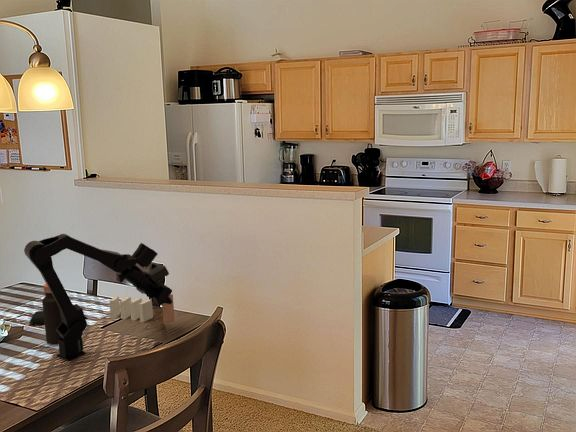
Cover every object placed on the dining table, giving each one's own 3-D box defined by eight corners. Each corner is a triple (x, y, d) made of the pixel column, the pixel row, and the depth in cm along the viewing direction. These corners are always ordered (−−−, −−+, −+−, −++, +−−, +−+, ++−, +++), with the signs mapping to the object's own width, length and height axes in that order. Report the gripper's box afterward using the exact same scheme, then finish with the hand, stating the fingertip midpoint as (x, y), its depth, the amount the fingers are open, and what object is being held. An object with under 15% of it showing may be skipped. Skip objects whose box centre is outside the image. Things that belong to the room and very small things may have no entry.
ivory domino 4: (152, 317, 211) (151, 300, 210) (143, 322, 207) (142, 304, 206) (149, 317, 212) (148, 299, 211) (140, 321, 208) (138, 303, 207)
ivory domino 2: (132, 314, 215) (130, 296, 214) (125, 319, 210) (123, 301, 209) (128, 314, 216) (126, 296, 214) (121, 319, 211) (119, 301, 209)
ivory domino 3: (142, 315, 214) (141, 298, 212) (134, 320, 209) (133, 302, 208) (139, 315, 214) (138, 297, 213) (131, 320, 210) (129, 302, 208)
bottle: (59, 345, 188) (52, 288, 184) (42, 343, 190) (35, 286, 186) (72, 337, 194) (66, 282, 190) (55, 335, 196) (49, 280, 192)
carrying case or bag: (28, 328, 205) (71, 323, 208) (27, 320, 204) (71, 316, 207) (34, 317, 215) (75, 313, 218) (33, 310, 214) (74, 306, 218)
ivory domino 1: (120, 313, 216) (118, 296, 215) (114, 318, 211) (113, 300, 210) (116, 313, 216) (114, 296, 215) (110, 318, 211) (109, 300, 210)
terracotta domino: (174, 321, 200) (172, 294, 198) (165, 324, 198) (163, 297, 196) (172, 320, 202) (170, 293, 200) (163, 322, 200) (161, 295, 198)
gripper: (164, 264, 186) (196, 289, 194) (142, 253, 200) (172, 277, 209) (143, 292, 182) (176, 317, 191) (122, 279, 197) (154, 302, 206)
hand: (170, 302), depth 199 cm, fingers closed on terracotta domino, 2 cm apart
